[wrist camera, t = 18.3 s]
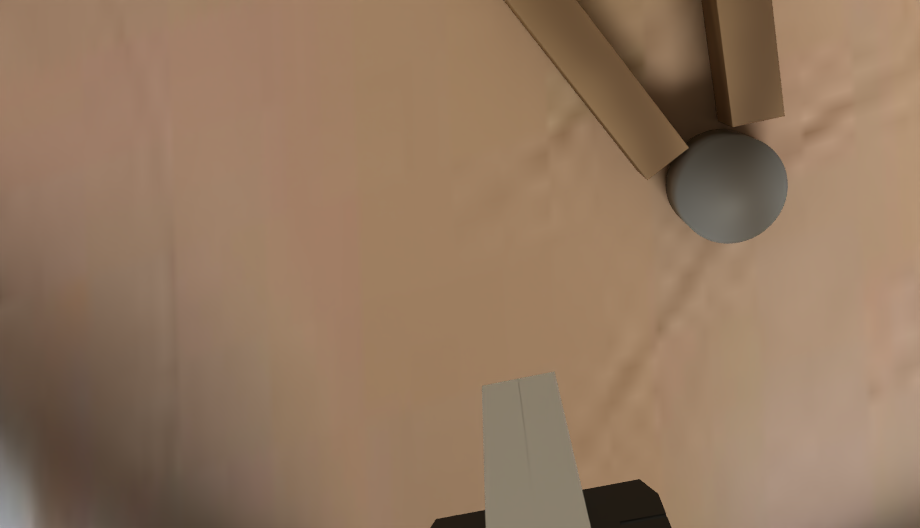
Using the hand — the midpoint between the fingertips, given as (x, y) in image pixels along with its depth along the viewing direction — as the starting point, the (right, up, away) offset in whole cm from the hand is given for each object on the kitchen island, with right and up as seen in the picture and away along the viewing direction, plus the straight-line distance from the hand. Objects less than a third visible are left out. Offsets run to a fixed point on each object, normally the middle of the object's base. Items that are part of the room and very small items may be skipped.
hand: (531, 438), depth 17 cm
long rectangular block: (+4, +14, +23) cm, 28 cm away
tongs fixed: (+10, +15, +23) cm, 29 cm away
